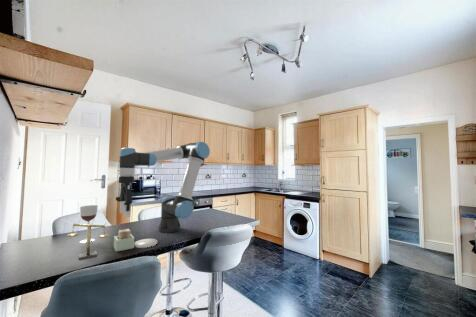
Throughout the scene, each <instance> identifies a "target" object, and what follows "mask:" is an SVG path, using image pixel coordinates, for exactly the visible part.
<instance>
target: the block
mask: <svg viewBox="0 0 476 317" xmlns="http://www.w3.org/2000/svg"><path fill="white" fill-rule="evenodd" d="M117 234H118V235H117V236H118V240H120V239H125V238H130V234H131V229H130V228H125V229H124V228H123V229H118V233H117Z"/></svg>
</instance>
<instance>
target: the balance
mask: <svg viewBox="0 0 476 317" xmlns="http://www.w3.org/2000/svg"><path fill="white" fill-rule="evenodd" d="M74 227H86V228H87V227H88V231H87V230H86V231H87V232H86V239H87V243H86V252H83V253H79V254H78V260H84V259H90V258H94V257H97V256H98V253H97V250H93V251H91V242H90V241H91V239H92V238H91V237H92V234H91V233H92V228H103V234H100V235H98V238H100V239H104V238H108V237H110V234H109V233H105V232H106V225H103V224H101V225H100V224H89V225H88V223H87V224H86V223H85V224H84V223H73V224H72V231H74ZM77 236H79V233H78V232H72V233H68V234H66V237H67V238H72V237H77Z"/></svg>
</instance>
